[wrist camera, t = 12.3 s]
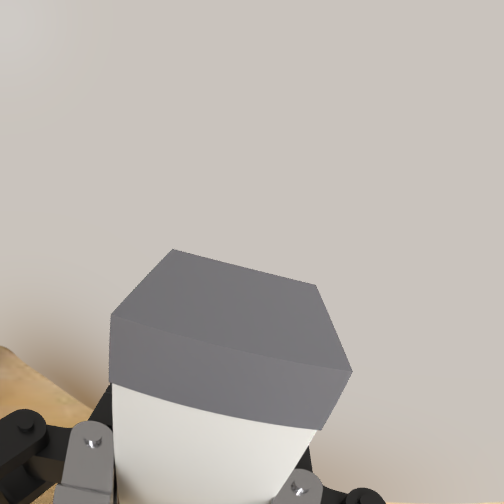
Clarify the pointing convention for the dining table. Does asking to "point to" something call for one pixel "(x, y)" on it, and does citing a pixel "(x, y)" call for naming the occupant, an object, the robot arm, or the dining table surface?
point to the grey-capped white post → (218, 382)
